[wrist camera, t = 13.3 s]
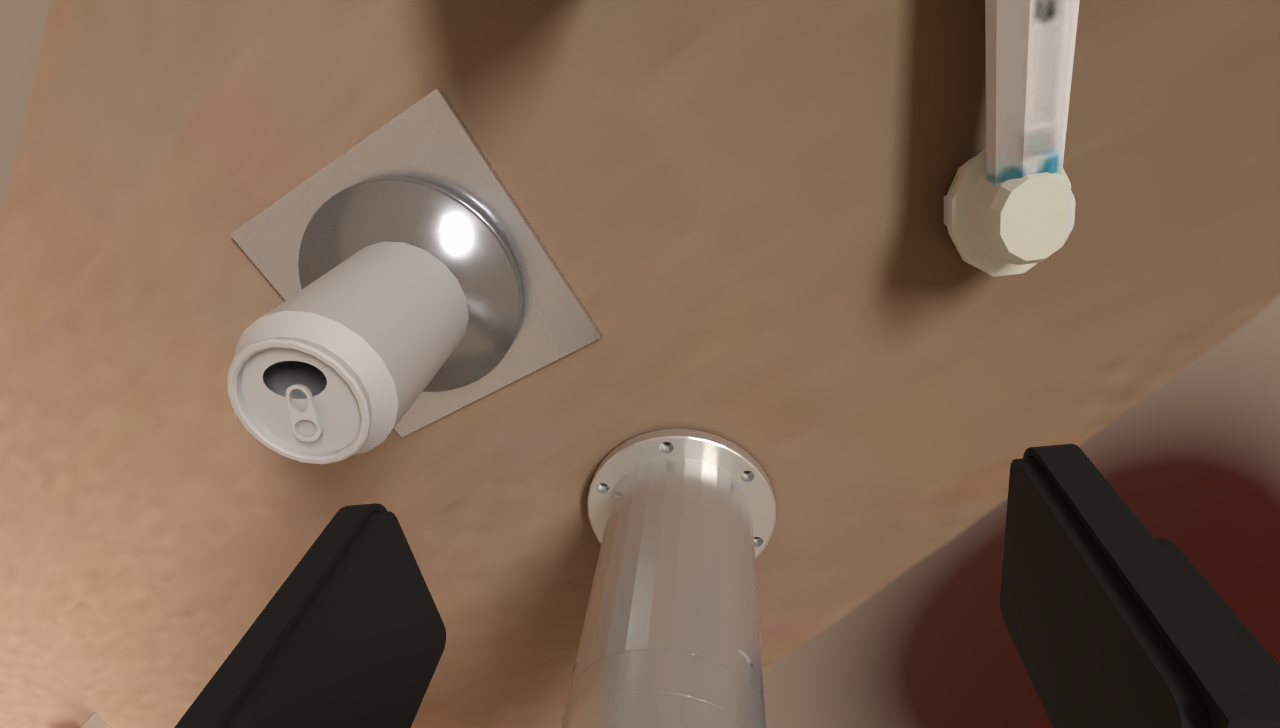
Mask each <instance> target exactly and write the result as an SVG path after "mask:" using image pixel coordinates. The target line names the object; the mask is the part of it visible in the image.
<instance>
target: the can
mask: <svg viewBox="0 0 1280 728" xmlns="http://www.w3.org/2000/svg"><path fill="white" fill-rule="evenodd" d="M468 319H469V316H468V308H467V299H466V297H465V295H464V292H463V290H462V288H461V286H460V284H459V281H458V280H457V278H456V277H455V276H454V275H453V274H452V272H451V271H450V270H449V269H448V268H447V266H446V265H445V264H444V263H443V262H442V261H440V260H439V259H437V258H436V257H434V256H433V255H432V254H430V253H429V252H427V251H426V250H424V249H421V248H418V247H415V246H412V245H410V244H407V243H403V242H380V243H377V244H373V245H370V246H366V247H364V248H363V249H361V250H360V251H358V252H357V253H355V254H354V255H352V256H351V257H349V258H348V259H346V260H345V261H343V262H342V263H340V264H339V265H337V266H336V267H335V268H333V269H332V270H330V271H329V272H327V273H326V274H324V275H323V276H321V277H320V278H318V279H317V280H315V281H314V282H312V283H311V284H309V285H308V286H306V287H305V288H303V289H302V290H300V291H299V292H297V293H296V294H295V295H293V296H292V297H290V298H289V299H287V300H286V301H284V302H283V303H281V304H280V305H278V306H277V307H275V308H274V309H272V310H271V311H269V312H268V313H266V314H265V315H263V316H262V317H261V318H259V319H258V320H257V321H256V322H254V323H253V324H252V325H251V326H249V327H248V328H247V329H245V330H244V332H243V334H242V336H241V338H240V340H239V342H238V344H237V346H236V348H235V358H234V360H233V362H232V364H231V366H230V368H229V370H228V376H227V392H228V395H229V398H230V401H231V404H232V407H233V410H234V412H235V413H236V415H237V416H238V418H239V419H240V421H241V422H242V424H243V425H244V427H245V428H246V429H247V430H248V431H249V432H250V433H251V434H252V435H253V436H254V437H255V438H256V439H257V440H259V441H260V442H261V443H262V444H263V445H265V446H267V447H268V448H270V449H272V450H273V451H275V452H277V453H278V454H280V455H282V456H284V457H287V458H290V459H293V460H296V461H299V462H302V463H311V464H323V465H325V464H330V463H334V462H339V461H343V460H345V459H346V458H348V457H350V456H352V455H357V454H362V453H366V452H368V451H370V450H371V449H373V448H374V447H376V446H378V445H379V444H381V443H382V442H384V441H385V439H386V438H387V437H388V435H389V434H390V433H391V432H392V430H393V429H394V428H395V426H396V425H397V424H398V423H399V421H400V420H401V419H402V417H403V416H404V415H405V413H406V412H407V411H408V410H409V408H410V407H411V406H412V404H413V403H414V402H415V401H416V399H417V398H418V397H419V395H420V394H421V393H422V392H423V390H424V389H425V388H426V386H427V385H428V384H429V383H430V381H431V380H432V379H433V377H434V376H435V375H436V374H437V372H438V371H439V370H440V368H441V367H442V366H443V365H444V363H445V362H446V361H447V359H448V358H449V357H450V355H451V354H452V353H453V352H454V350H455V349H456V348H457V346H458V345H459V343H460V342H461V340H462V339H463V337H464V336H465V332H466V328H467V324H468Z"/></svg>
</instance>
